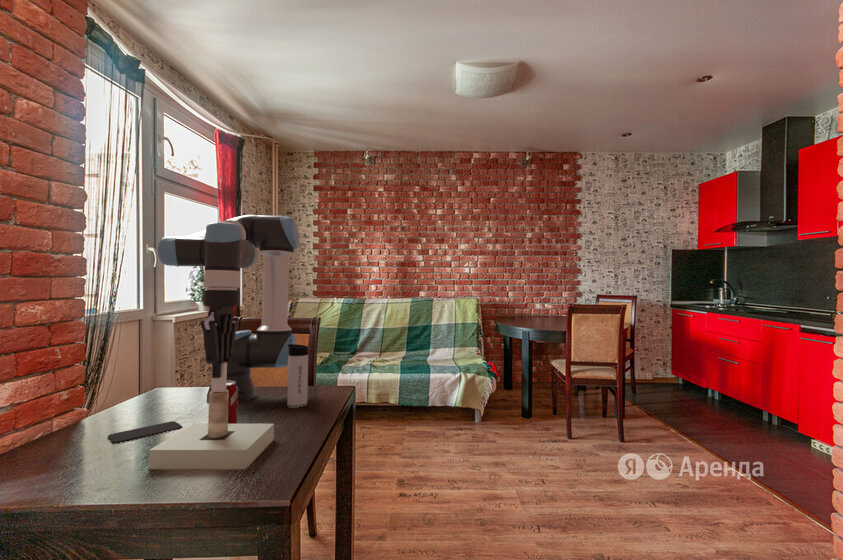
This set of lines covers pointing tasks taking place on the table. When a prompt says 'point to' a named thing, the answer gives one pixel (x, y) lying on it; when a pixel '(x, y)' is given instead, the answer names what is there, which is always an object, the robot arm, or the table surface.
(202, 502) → the table surface
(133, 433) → the phone
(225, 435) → the peg
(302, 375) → the travel mug
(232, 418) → the soda can
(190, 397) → the table surface
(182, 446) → the board
